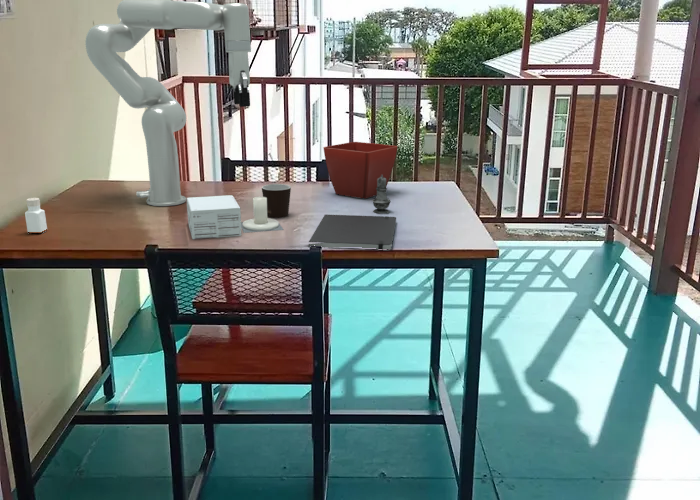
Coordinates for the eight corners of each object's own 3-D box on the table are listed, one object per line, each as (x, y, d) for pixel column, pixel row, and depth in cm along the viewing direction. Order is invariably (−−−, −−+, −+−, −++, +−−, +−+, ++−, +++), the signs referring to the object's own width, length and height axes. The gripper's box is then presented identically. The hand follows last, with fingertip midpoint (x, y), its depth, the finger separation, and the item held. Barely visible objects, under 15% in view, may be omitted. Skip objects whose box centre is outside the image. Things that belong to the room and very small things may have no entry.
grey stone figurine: (394, 211, 204) (395, 174, 200) (382, 215, 200) (383, 176, 196) (380, 208, 208) (380, 171, 204) (368, 211, 204) (368, 174, 200)
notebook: (324, 221, 194) (308, 249, 168) (324, 214, 194) (308, 241, 167) (396, 223, 192) (391, 252, 166) (396, 216, 191) (391, 244, 165)
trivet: (243, 237, 175) (243, 232, 175) (239, 227, 185) (238, 222, 185) (283, 235, 178) (283, 229, 178) (277, 224, 188) (276, 219, 188)
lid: (245, 232, 175) (244, 203, 173) (240, 222, 185) (239, 195, 182) (281, 229, 178) (280, 201, 176) (275, 220, 187) (274, 193, 185)
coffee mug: (289, 223, 189) (289, 190, 186) (260, 223, 190) (259, 190, 187) (294, 213, 201) (293, 182, 198) (266, 213, 201) (265, 181, 198)
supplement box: (242, 241, 173) (241, 207, 170) (192, 245, 169) (190, 210, 166) (234, 225, 188) (233, 193, 185) (188, 228, 185) (186, 196, 182)
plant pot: (353, 186, 241) (354, 140, 236) (397, 192, 230) (398, 145, 225) (322, 195, 226) (321, 147, 221) (367, 202, 215) (368, 152, 210)
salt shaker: (34, 230, 181) (29, 197, 178) (48, 230, 181) (43, 197, 178) (27, 234, 177) (21, 200, 174) (41, 234, 177) (36, 200, 174)
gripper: (221, 47, 201) (225, 103, 206) (230, 47, 185) (234, 108, 190) (245, 47, 203) (249, 102, 208) (256, 46, 187) (259, 106, 193)
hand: (242, 105), depth 199 cm, fingers open, 9 cm apart
